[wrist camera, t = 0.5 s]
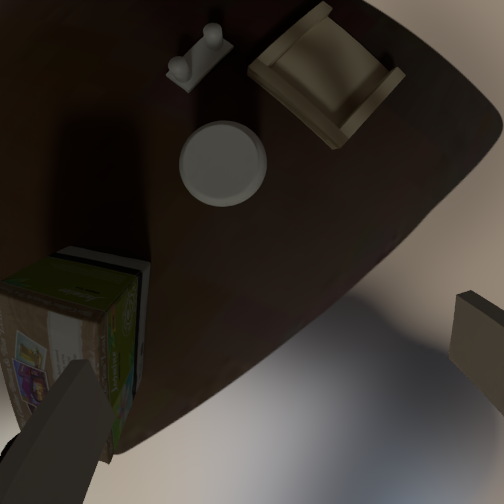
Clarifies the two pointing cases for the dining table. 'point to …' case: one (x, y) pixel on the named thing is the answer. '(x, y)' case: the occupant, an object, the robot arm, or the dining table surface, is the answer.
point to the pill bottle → (223, 163)
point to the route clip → (199, 58)
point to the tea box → (74, 328)
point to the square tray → (324, 76)
